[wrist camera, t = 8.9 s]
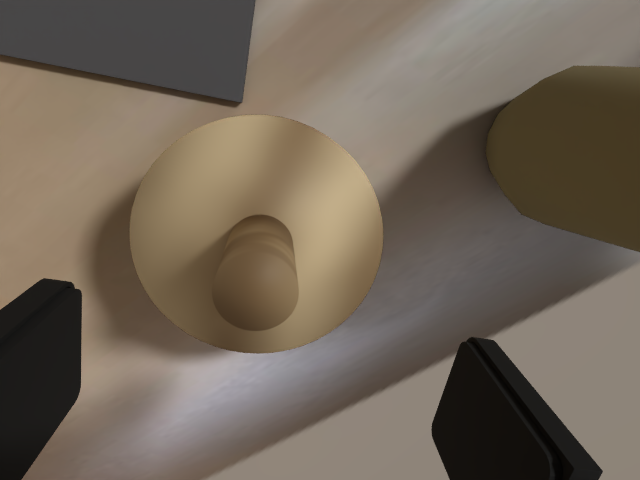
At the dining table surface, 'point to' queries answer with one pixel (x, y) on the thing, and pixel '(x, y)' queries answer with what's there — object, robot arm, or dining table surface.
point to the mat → (137, 40)
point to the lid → (256, 234)
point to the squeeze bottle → (574, 152)
